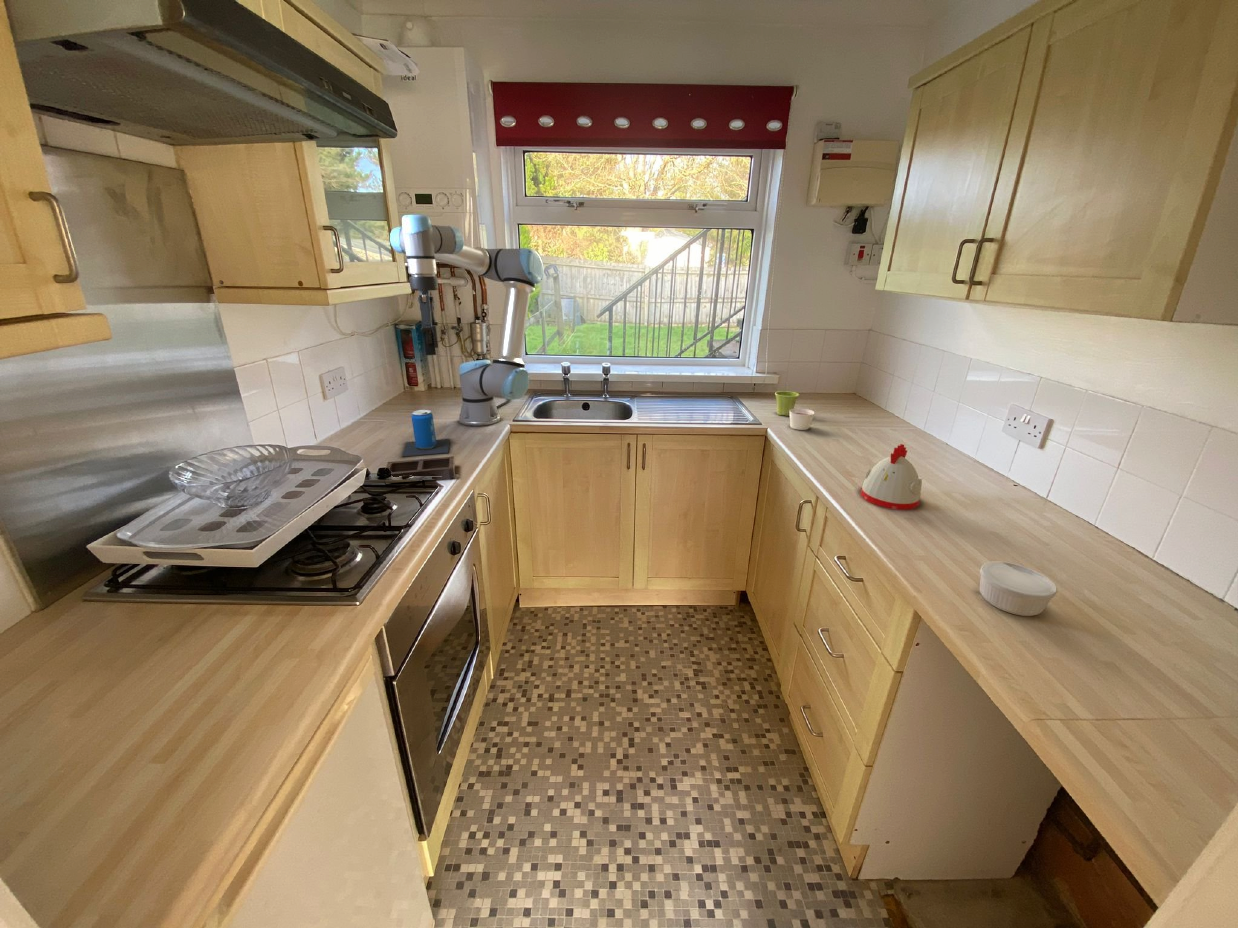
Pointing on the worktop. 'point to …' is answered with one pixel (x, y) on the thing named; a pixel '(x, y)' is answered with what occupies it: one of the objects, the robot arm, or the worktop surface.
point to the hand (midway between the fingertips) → (432, 351)
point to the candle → (800, 418)
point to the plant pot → (785, 401)
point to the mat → (439, 448)
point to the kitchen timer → (893, 482)
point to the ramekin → (1015, 588)
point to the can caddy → (424, 468)
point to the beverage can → (423, 429)
